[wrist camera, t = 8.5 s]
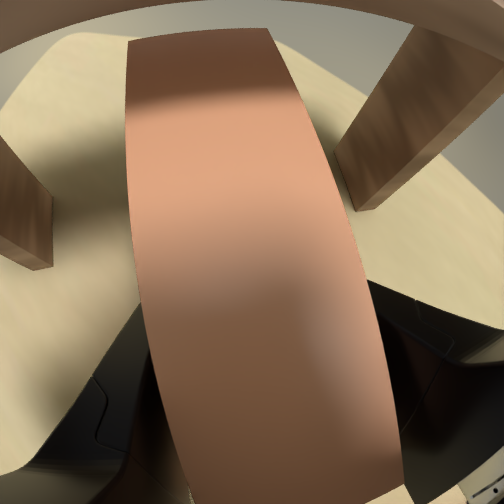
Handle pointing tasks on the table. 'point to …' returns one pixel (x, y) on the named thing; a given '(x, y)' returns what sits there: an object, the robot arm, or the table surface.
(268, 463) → the terracotta panel
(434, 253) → the table surface
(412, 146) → the walnut bridge
